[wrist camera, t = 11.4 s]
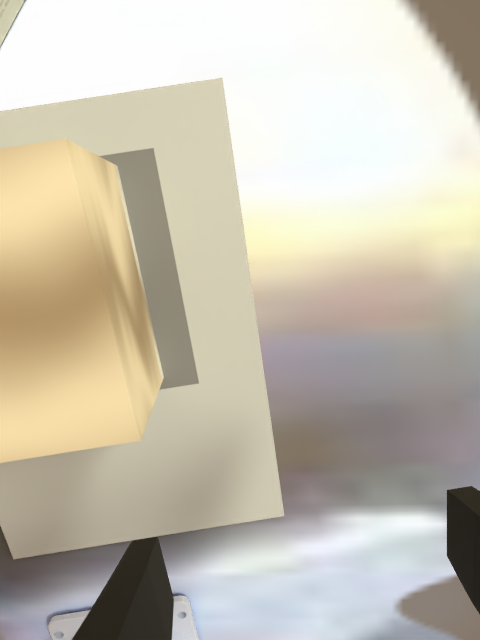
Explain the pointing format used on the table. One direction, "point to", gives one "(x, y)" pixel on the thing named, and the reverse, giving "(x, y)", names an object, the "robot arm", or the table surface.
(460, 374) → the table surface
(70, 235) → the block
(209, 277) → the board
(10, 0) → the small box
